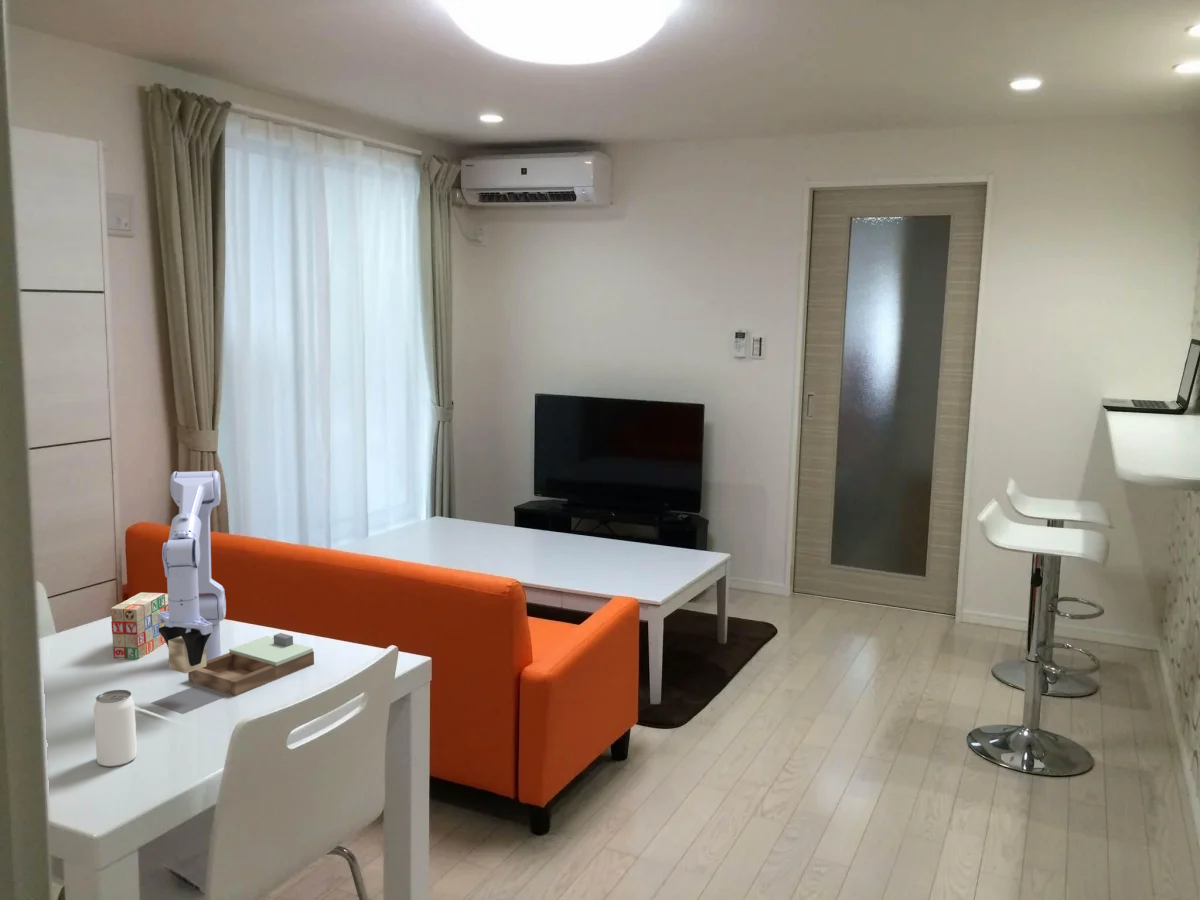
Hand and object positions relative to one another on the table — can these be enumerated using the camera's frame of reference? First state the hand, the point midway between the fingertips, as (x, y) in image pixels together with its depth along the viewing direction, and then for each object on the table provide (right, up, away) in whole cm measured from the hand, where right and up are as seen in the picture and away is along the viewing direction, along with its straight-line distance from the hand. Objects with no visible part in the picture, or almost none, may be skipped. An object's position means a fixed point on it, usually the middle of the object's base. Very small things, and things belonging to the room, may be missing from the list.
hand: (186, 661), depth 197 cm
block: (0, -1, 0) cm, 1 cm away
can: (-2, -13, -24) cm, 27 cm away
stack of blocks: (-23, -4, +35) cm, 42 cm away
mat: (0, -9, +1) cm, 9 cm away
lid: (+10, -2, +21) cm, 23 cm away
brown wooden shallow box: (+8, -6, +16) cm, 19 cm away
